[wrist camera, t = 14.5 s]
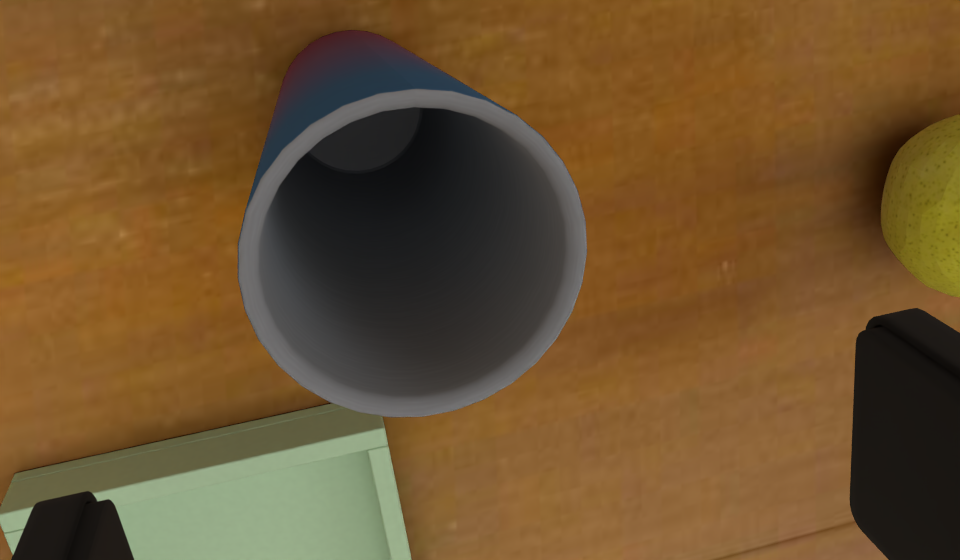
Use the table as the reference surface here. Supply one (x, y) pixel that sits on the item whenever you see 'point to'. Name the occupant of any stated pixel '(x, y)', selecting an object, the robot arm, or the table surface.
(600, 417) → the table surface
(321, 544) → the sage tray
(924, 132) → the fruit
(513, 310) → the cup
